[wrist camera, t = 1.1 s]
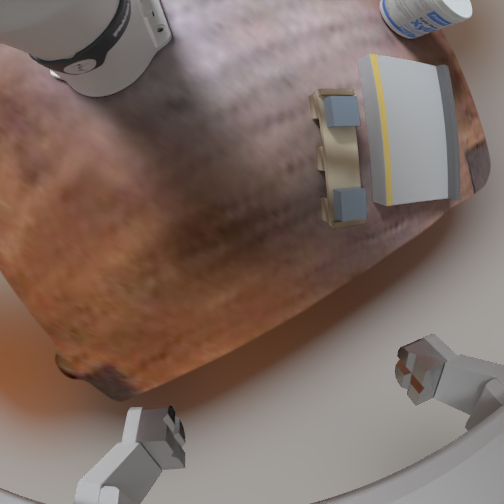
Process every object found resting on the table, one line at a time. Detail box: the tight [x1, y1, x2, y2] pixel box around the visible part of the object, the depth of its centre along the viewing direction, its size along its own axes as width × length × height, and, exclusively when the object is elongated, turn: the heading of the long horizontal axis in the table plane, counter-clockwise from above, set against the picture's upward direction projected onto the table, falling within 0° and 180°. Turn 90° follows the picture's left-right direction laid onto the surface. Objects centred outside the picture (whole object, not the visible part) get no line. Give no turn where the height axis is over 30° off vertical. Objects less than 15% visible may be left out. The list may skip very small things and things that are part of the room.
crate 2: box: [333, 187, 367, 222], centre depth 38 cm, size 4×4×2 cm
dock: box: [357, 54, 460, 206], centre depth 38 cm, size 23×15×6 cm, turn 8°
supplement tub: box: [380, 0, 472, 39], centre depth 27 cm, size 10×10×15 cm
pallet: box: [309, 89, 366, 229], centre depth 39 cm, size 19×5×4 cm, turn 8°
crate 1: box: [323, 96, 360, 127], centre depth 34 cm, size 4×4×2 cm
